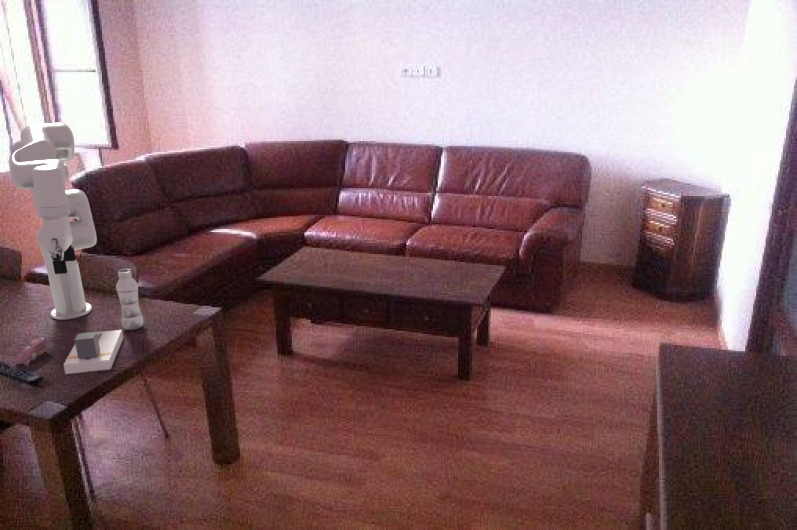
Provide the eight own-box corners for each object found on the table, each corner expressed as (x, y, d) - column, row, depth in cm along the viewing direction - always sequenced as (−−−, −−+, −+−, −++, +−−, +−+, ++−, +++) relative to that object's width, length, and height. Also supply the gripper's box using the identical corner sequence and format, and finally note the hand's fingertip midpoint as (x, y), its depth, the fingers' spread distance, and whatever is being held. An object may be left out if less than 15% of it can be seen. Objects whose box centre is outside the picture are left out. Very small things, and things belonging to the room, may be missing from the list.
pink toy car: (27, 370, 187) (32, 352, 184) (13, 363, 187) (17, 344, 184) (49, 354, 196) (54, 336, 193) (36, 347, 196) (41, 329, 193)
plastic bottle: (134, 322, 213) (124, 265, 206) (149, 326, 210) (139, 269, 203) (118, 330, 208) (108, 272, 201) (133, 334, 205) (123, 275, 198)
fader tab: (81, 352, 186) (77, 333, 184) (100, 350, 187) (96, 331, 185) (78, 358, 183) (74, 339, 181) (97, 356, 184) (93, 337, 182)
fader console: (82, 342, 200) (80, 333, 199) (123, 338, 202) (121, 329, 201) (65, 374, 181) (63, 364, 180) (110, 369, 184) (108, 359, 183)
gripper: (48, 202, 186) (59, 257, 193) (30, 220, 171) (43, 279, 177) (76, 200, 188) (86, 255, 194) (60, 218, 172) (72, 277, 178)
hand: (65, 266), depth 186 cm, fingers open, 9 cm apart
